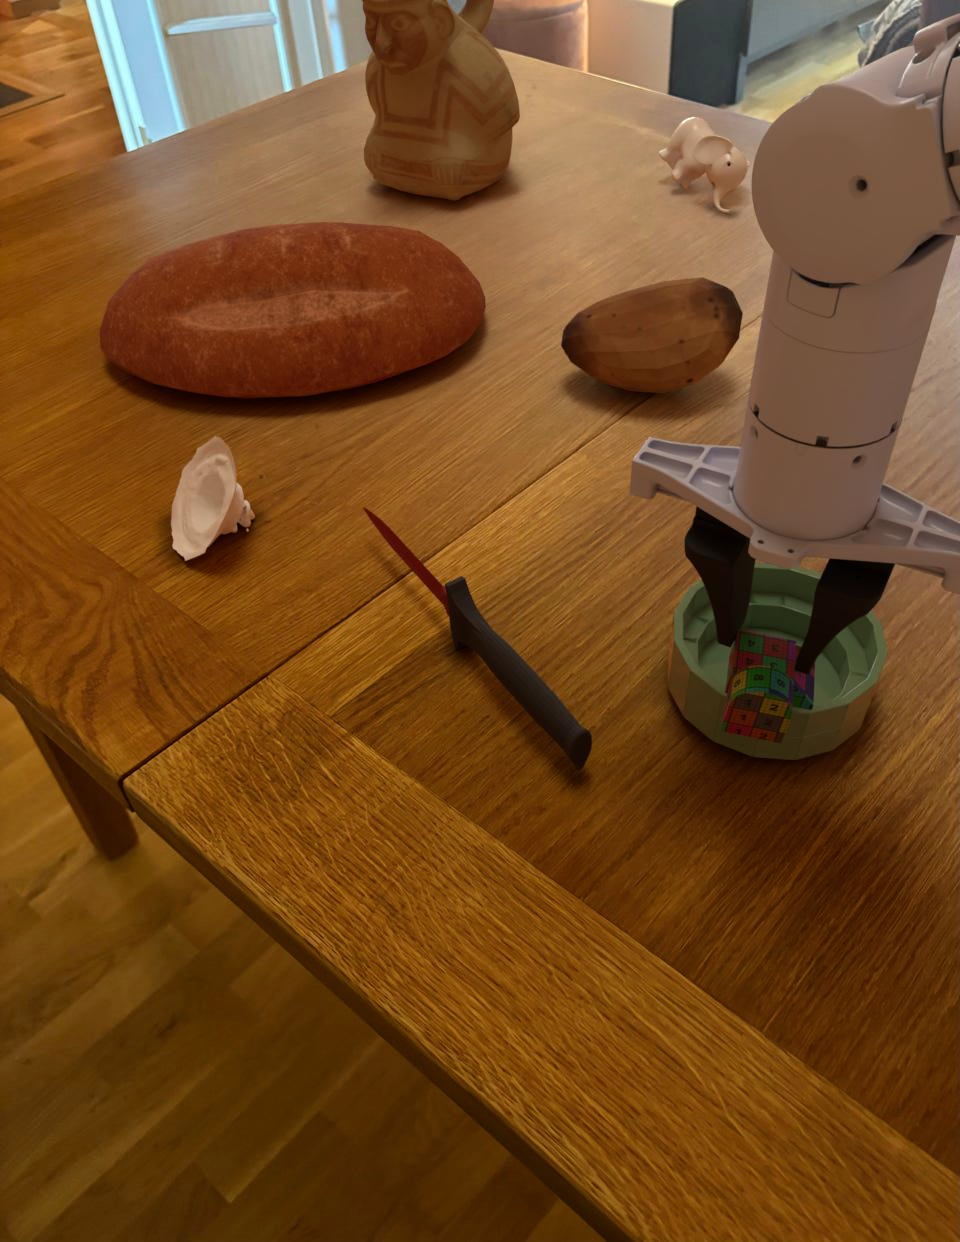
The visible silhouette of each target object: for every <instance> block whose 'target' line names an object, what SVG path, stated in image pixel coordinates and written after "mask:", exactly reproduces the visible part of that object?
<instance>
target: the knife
mask: <svg viewBox="0 0 960 1242" xmlns="http://www.w3.org/2000/svg"><path fill="white" fill-rule="evenodd" d="M362 509H363V510H364V512H365V513H366V515H367V517H368V519H369V520H370V521H371V523H372V524H373V525H374V527H375V528H376V530H377V531H378V532H379V534H380V535H381V536H382V538H383V539H384V540H385V542H387V544H388V545H389V546H390V548H391V549H392V550H393V551H394V552H395V554H396V555H398V557H399V558H400V559H401V560H402V562H404V563H405V564H406V566H408V568H409V569H410V570H411V571H412V572H413V573H414V574H415V576H416V577H417V578H418V579H419V580H420V581H421V583H422V584H423V585H425V587H426V588H427V589H428V590H429V591H430V592H431V593H432V594H433V595H434V596H435V598H436V599H437V600H438V601H439V602H440V603H441V604H442V606H443V607H444V610H445V612H446V614H447V616H448V617H449V628H450V629H449V630H450V633H451V638H452V643H453V648H454V649H456V650H460V649H462V648H463V647H465V646H467V647H468V648H469V649H470V650H471V651H473V652H474V653H475V654H476V655H477V656H478V657H479V658H480V659H481V660H482V662H483V663H484V664H485V666H486V667H487V668H488V669H489V671H490V672H491V674H492V675H493V676H494V677H495V678H496V679H497V681H498V682H499V683H500V684H501V685H502V687H504V688H505V690H507V692H508V693H509V694H510V695H511V696H512V697H513V698H514V700H515V701H516V702H517V703H518V704H519V705H520V707H522V709H523V710H524V711H525V712H526V713H527V714H528V715H529V716H530V717H531V719H532V720H533V721H534V722H535V723H536V724H537V725H538V727H540V728H541V729H542V730H543V731H544V732H545V733H546V734H547V735H548V736H549V737H550V738H551V739H552V740H553V741H554V742H555V743H556V744H557V745H558V746H559V747H560V749H562V751H563V752H564V754H565V755H566V757H567V758H568V760H569V761H570V762H571V764H572V765H573V767H574V768H575V769H576V771H579V772H580V771H581V770H582V769H583V768H585V765H586V763H587V761H588V758H589V756H590V753H591V751H592V746H593V739H592V738H593V737H592V733H591V731H590V730H588V729H587V728H586V727H583V726H582V725H581V724H580V723H579V721H578V720H577V719H576V717H575V716H574V715H573V714H572V713H571V711H569V709H568V708H567V706H566V705H565V704H564V703H563V702H562V700H561V699H560V698H559V696H557V694H556V693H555V692H554V691H553V690H552V689H551V688H550V687H549V686H548V684H546V682H544V680H543V679H542V678H541V677H540V676H539V675H538V674H537V673H536V671H535V670H534V669H533V668H532V667H531V666H530V664H528V663H527V661H526V660H524V658H523V657H522V656H521V655H520V654H519V653H518V652H517V651H516V650H515V649H514V648H513V646H511V645H510V644H509V643H508V642H507V641H506V640H505V639H503V637H502V636H501V635H500V634H498V633H497V632H496V631H495V630H494V629H493V628H492V627H491V625H490V624H489V622H488V621H487V620H486V618H485V617H484V616H483V615H482V613H481V611H480V610H479V609H478V606H477V605H476V603H475V601H474V598H473V596H472V593H471V591H470V589H469V587H468V582H467V579H466V578H465V577H464V576H463V575H460V576H458V577H456V578H454V579H452V580H450V581H448V582H446V583H444V584H442V583H441V582H440V581H439V580H438V579H437V578H436V577H435V575H434V574H433V573H432V572H431V570H429V569H428V568H427V567H426V565H424V564H423V563H422V561H421V560H420V559H419V558H418V557H417V556H416V555H415V554H414V552H412V550H410V548H409V547H408V546H407V545H406V544H405V543H404V542H403V541H402V539H400V537H398V535H397V534H396V533H395V532H394V531H393V530H392V528H390V527H389V525H387V524H386V523H385V522H384V521H383V520H382V519H381V518H380V517H379V516H377V514H375V513H374V512H373V511H371V510H369V509H368V508H366V507H364V506H362Z"/></svg>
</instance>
